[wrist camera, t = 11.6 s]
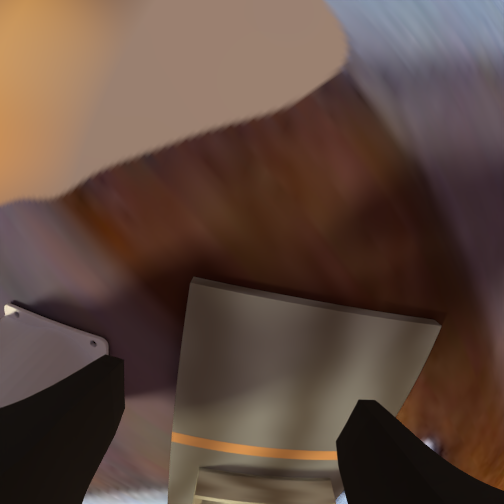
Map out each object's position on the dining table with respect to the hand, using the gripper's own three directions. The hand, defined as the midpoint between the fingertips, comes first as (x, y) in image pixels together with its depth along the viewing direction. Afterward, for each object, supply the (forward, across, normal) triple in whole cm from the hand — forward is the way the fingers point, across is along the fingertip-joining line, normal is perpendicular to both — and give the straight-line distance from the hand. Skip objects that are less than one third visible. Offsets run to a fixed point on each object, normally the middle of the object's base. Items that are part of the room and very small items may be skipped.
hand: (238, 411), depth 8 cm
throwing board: (+9, -5, +14) cm, 18 cm away
